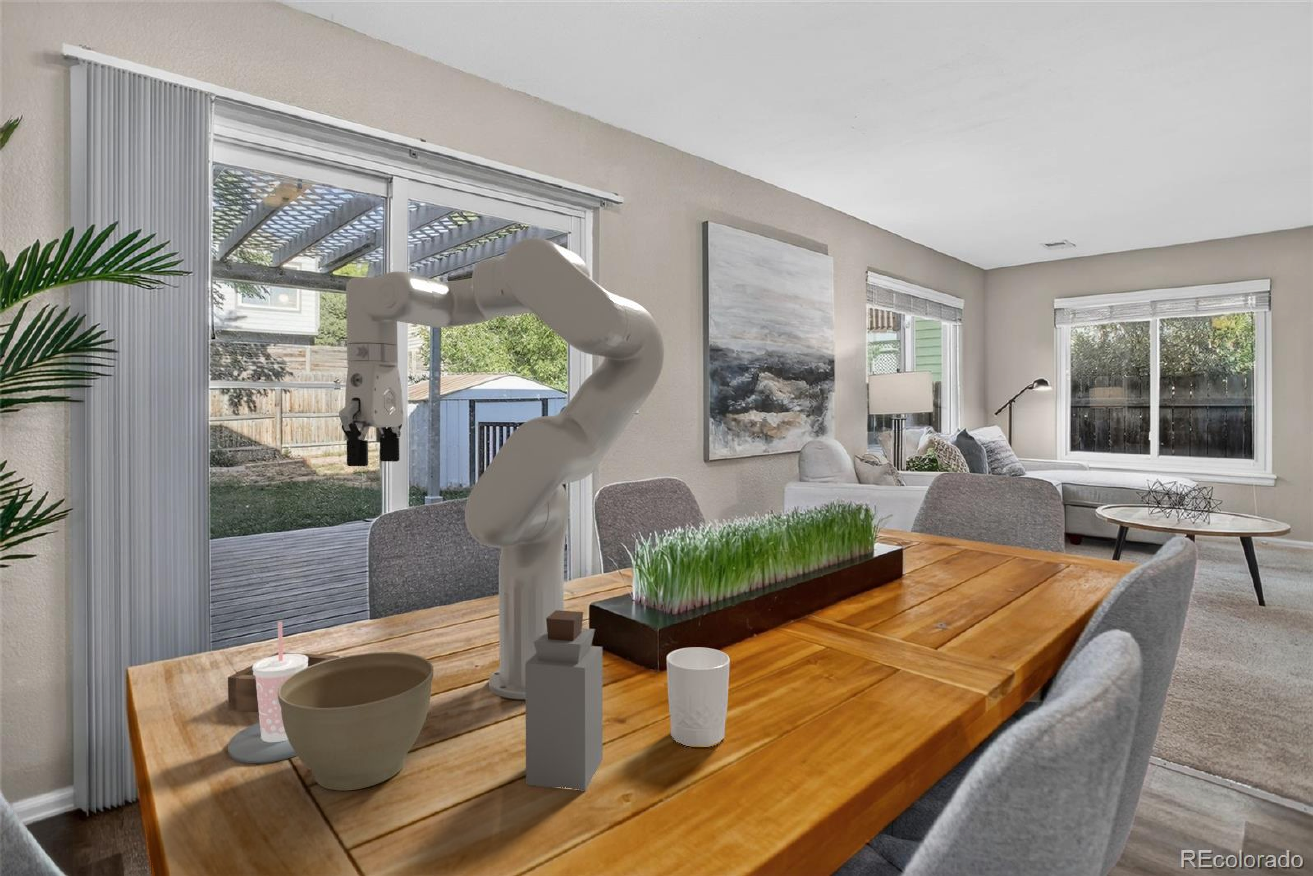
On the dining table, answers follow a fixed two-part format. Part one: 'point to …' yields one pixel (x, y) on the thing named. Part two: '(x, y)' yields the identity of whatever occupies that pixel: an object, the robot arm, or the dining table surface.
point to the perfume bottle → (564, 705)
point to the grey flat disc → (258, 747)
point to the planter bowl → (356, 715)
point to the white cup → (698, 695)
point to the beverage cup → (274, 688)
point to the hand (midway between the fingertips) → (374, 463)
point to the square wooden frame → (244, 685)
